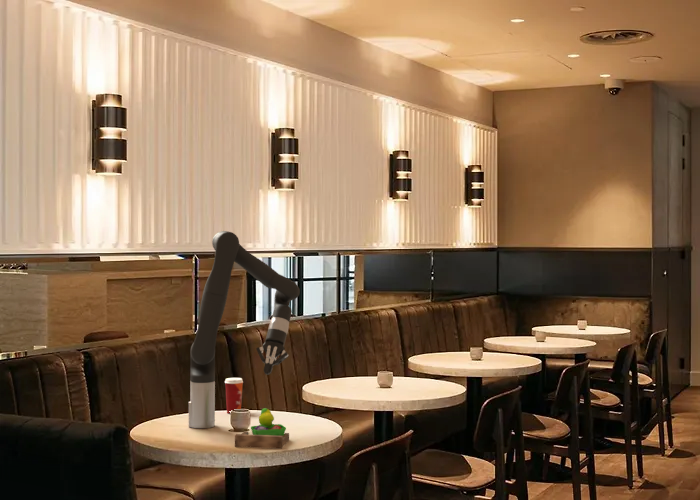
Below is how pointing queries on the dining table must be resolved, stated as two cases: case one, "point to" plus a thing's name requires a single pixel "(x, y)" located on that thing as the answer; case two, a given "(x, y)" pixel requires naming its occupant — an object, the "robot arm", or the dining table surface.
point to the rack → (261, 440)
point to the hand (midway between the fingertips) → (267, 374)
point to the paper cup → (233, 393)
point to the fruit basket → (267, 425)
